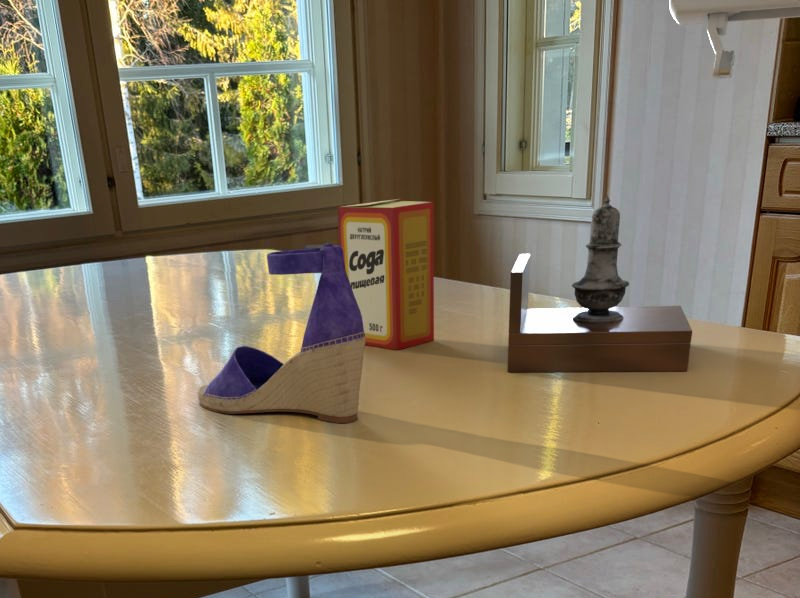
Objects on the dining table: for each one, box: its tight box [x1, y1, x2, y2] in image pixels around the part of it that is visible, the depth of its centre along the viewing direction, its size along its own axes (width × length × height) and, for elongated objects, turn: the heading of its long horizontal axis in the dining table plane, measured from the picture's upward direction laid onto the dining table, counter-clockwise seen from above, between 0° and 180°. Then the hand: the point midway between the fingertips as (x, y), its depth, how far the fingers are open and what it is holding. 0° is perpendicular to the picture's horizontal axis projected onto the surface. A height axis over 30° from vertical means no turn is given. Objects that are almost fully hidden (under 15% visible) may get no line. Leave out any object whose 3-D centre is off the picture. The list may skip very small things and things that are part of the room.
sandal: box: [197, 242, 366, 424], centre depth 87 cm, size 8×20×15 cm, turn 45°
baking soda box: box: [336, 198, 435, 351], centre depth 113 cm, size 10×6×16 cm
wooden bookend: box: [507, 253, 693, 373], centre depth 100 cm, size 18×14×10 cm
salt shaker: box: [571, 196, 630, 323], centre depth 98 cm, size 6×6×12 cm
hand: (779, 74), depth 80 cm, fingers open, 8 cm apart
